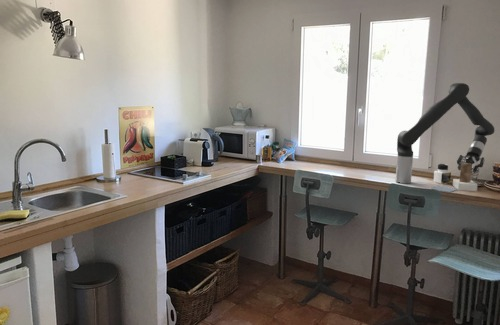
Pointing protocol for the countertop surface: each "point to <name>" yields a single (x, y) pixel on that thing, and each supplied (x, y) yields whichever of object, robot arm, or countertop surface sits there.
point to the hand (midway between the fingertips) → (466, 170)
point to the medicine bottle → (442, 174)
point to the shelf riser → (464, 185)
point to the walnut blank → (465, 172)
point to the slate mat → (444, 189)
